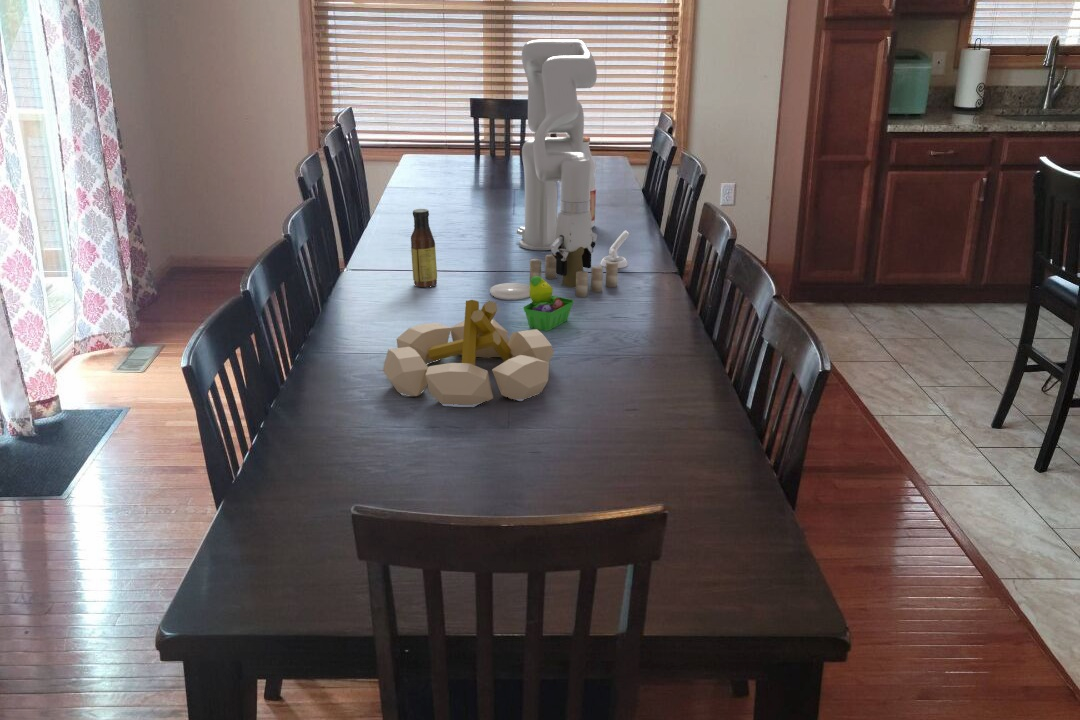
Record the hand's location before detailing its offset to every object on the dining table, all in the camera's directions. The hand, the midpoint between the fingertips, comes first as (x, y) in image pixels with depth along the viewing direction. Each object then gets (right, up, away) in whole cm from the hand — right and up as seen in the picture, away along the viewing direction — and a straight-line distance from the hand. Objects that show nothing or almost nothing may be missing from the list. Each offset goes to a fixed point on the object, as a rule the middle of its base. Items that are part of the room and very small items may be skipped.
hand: (573, 271), depth 274 cm
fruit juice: (+4, +19, +59) cm, 62 cm away
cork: (0, -4, +1) cm, 4 cm away
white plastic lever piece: (+12, +3, +19) cm, 23 cm away
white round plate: (-16, -6, -6) cm, 18 cm away
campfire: (-23, -27, -59) cm, 69 cm away
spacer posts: (0, -3, +1) cm, 4 cm away
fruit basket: (-7, -15, -28) cm, 32 cm away
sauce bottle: (-39, -4, -1) cm, 39 cm away
